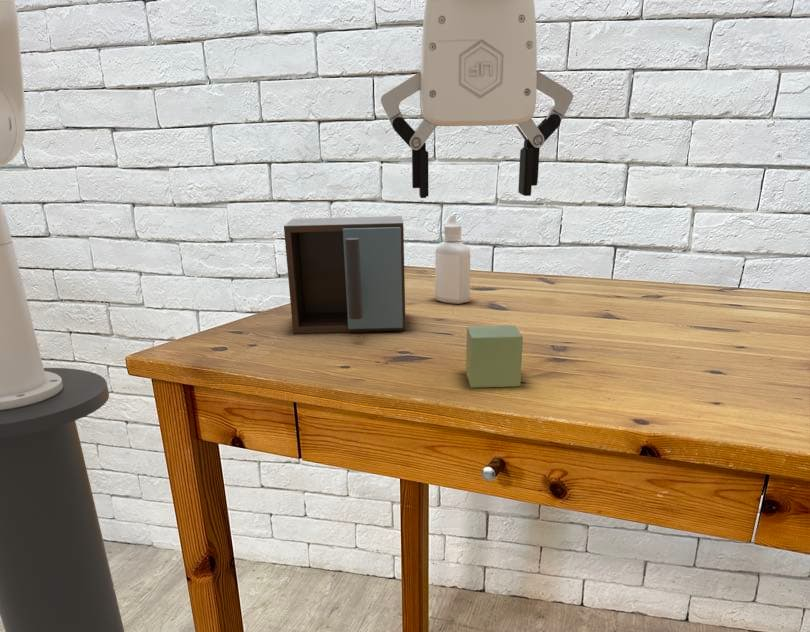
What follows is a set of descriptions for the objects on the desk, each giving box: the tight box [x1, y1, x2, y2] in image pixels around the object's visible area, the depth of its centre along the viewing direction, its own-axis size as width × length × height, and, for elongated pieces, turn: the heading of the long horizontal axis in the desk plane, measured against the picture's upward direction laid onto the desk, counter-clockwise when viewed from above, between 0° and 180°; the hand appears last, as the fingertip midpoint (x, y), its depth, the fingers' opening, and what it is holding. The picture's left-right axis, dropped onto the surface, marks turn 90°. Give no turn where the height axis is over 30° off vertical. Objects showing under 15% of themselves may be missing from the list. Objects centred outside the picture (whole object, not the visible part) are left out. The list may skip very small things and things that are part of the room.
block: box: [465, 324, 524, 389], centre depth 78 cm, size 5×5×5 cm
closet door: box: [343, 227, 403, 329], centre depth 93 cm, size 6×7×12 cm
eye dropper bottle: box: [434, 214, 471, 305], centre depth 113 cm, size 4×6×12 cm
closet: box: [283, 215, 407, 334], centre depth 100 cm, size 9×15×13 cm, turn 91°
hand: (474, 195), depth 73 cm, fingers open, 9 cm apart
